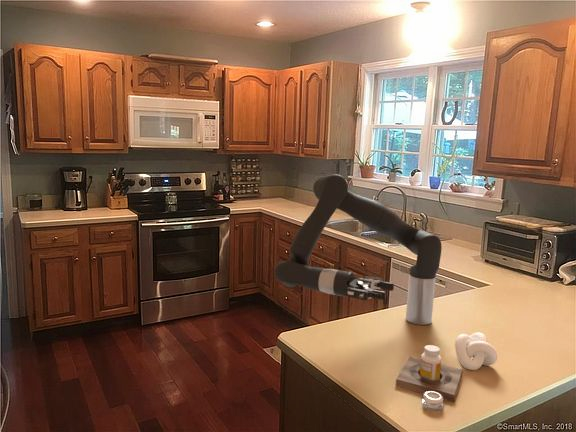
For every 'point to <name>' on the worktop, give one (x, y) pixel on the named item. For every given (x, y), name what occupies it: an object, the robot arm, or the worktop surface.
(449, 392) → the socket board
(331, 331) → the worktop surface
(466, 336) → the white knot
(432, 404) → the metal grooved wheel
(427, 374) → the supplement bottle
